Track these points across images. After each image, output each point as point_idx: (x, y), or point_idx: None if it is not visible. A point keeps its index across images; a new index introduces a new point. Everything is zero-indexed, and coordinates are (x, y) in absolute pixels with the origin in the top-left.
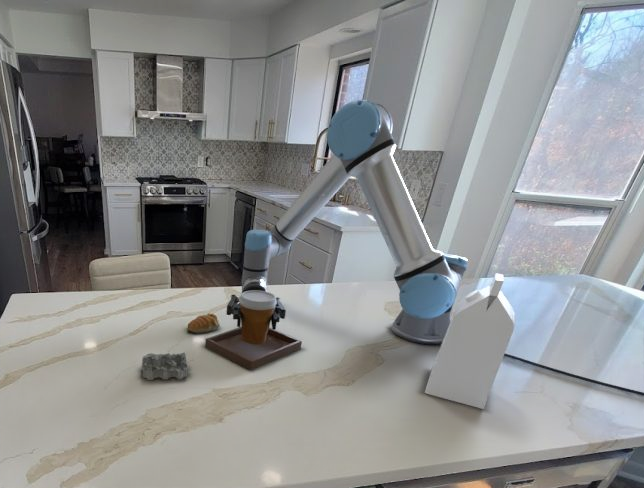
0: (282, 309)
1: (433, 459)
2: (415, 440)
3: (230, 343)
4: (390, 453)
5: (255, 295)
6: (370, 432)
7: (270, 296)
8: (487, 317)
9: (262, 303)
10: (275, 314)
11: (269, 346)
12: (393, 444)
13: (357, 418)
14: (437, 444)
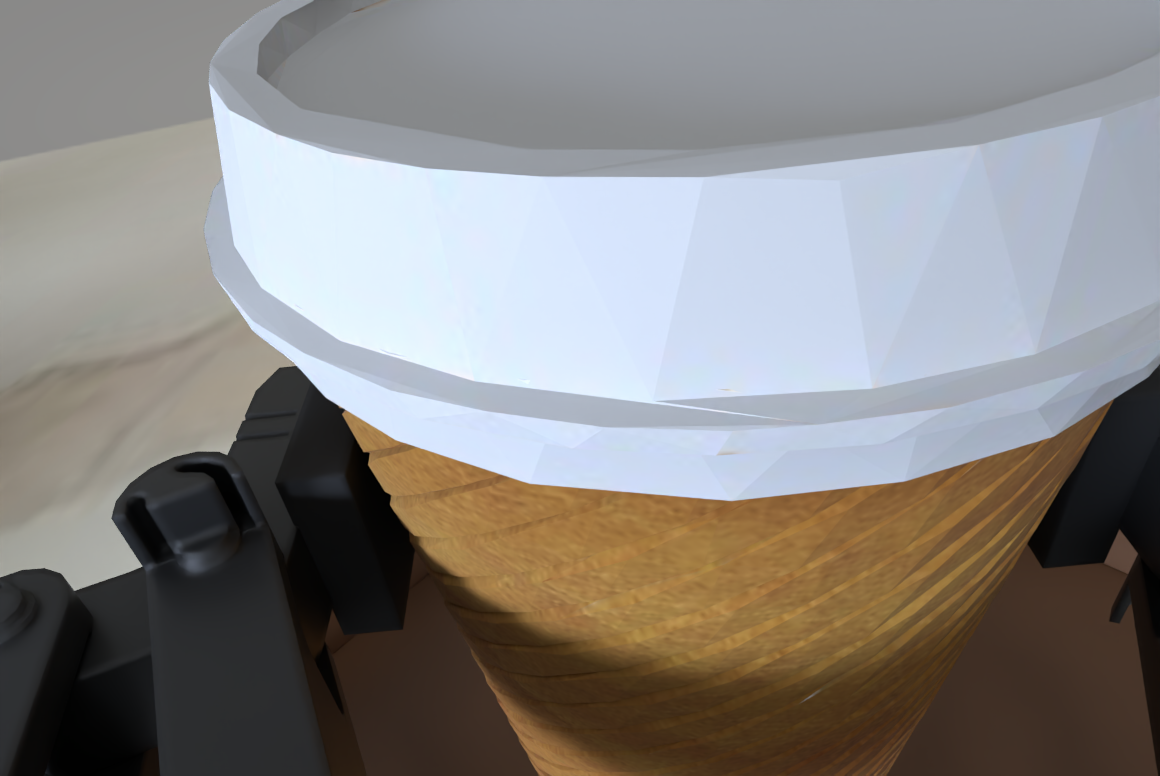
0: (51, 590)
1: (81, 146)
2: (62, 179)
3: (1013, 718)
4: (194, 137)
5: (799, 47)
6: (194, 175)
7: (347, 90)
8: None
9: None
10: None
11: (478, 752)
12: (155, 158)
13: (192, 209)
14: (3, 181)
